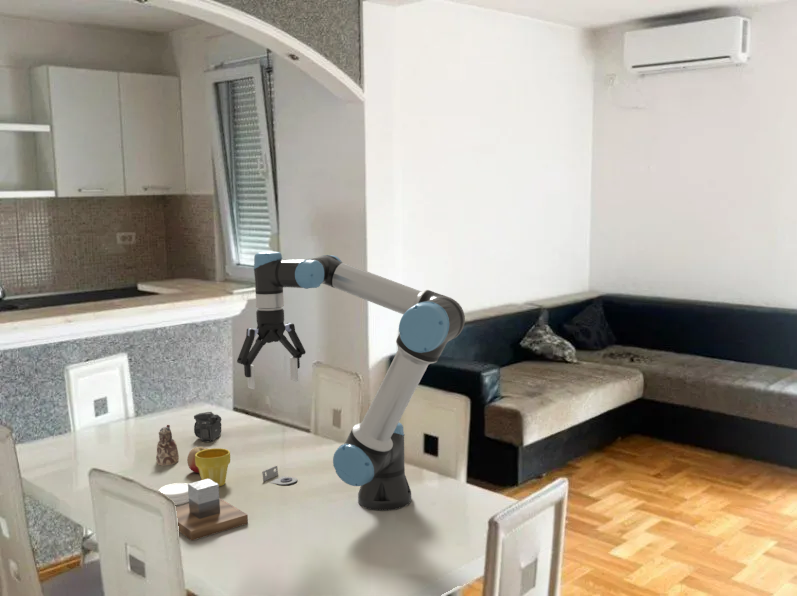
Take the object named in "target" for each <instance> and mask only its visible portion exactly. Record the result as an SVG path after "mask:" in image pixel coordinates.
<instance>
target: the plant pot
mask: <svg viewBox="0 0 797 596" xmlns="http://www.w3.org/2000/svg"><path fill="white" fill-rule="evenodd" d="M195 463H196V466H197V467H198V469H199V473H198V474H199V476H200V479H201V480H205V479H210V480H212V481H214V482H215V483H217V484H219V488H220V487H222V486H224V485H225V484H226V480H227V475H228V468H229V465H230V463H231V451H230V450H229V449H226V448H221V447H220V448H219V447H217V448H215V447H214V448H208V449H206V450H202V451H199V452H197V453H196V454H195ZM201 480H200V481H201Z"/></svg>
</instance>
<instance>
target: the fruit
mask: <svg viewBox="0 0 797 596" xmlns="http://www.w3.org/2000/svg"><path fill="white" fill-rule="evenodd" d="M206 449H209V448H208V447H206V448H205V447H204V446H196V447H193V448H191V450H190V451H189V453H188V455H187V461H186V462H187V466H188V467H189V469H190V471H192V472H193V473H196V474H200V473H199V469H198V467H197V466H196V463H195V454H196V453H197V452H199V451H202V450H206Z"/></svg>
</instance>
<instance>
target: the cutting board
mask: <svg viewBox="0 0 797 596" xmlns="http://www.w3.org/2000/svg"><path fill="white" fill-rule="evenodd" d="M219 500H220V513H219V514H215V515H212V516H208V517H205V518H201V519H199V518H197V517H196V516H194V515H193V514H191V513H190V512H189V503H185V504H181V505H178V506H175V507H176V511H177V518H178V526H179V531H178V532H179V533H180V534H182V535H184V536H185V537H186V538H187V539H188V540H190V541H191V542H192V541H195V540H199V539H202V538H206V537H209V536H212V535H214V534H218V533H219V534H220V533H222V532H225V531H228V530H231V529H235V528H238V527H241V526H244V525H247V524H249V523H248V522H249V521H248V520H249V519H248V516H249V515H248V514H247V513H246V512H244V511H242V510H241V509H240V508H237V507H235V506H233V505H232V504H231V503H229V502H227V501H226V500H223V499H222V498H220V497H219Z"/></svg>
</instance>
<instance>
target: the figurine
mask: <svg viewBox="0 0 797 596" xmlns="http://www.w3.org/2000/svg"><path fill="white" fill-rule="evenodd" d="M158 438H159V441H158V442H157V445H156V457H155V460H156V464H158V465H159V466H171V465H175V464H177V463H179V458H180V457H179V456H180V455H179V450H178V449H179V448H178V446H177V443H176V441H175V440H174V439H173V435H172V430H171V426H170V424H166V426H163V427H161V428H160V430H159V431H158Z"/></svg>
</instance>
